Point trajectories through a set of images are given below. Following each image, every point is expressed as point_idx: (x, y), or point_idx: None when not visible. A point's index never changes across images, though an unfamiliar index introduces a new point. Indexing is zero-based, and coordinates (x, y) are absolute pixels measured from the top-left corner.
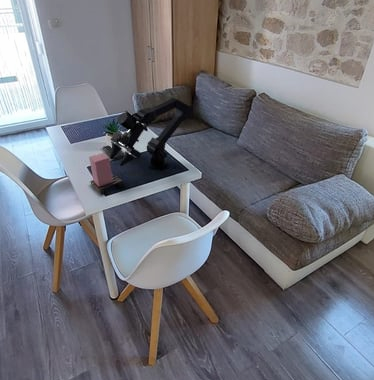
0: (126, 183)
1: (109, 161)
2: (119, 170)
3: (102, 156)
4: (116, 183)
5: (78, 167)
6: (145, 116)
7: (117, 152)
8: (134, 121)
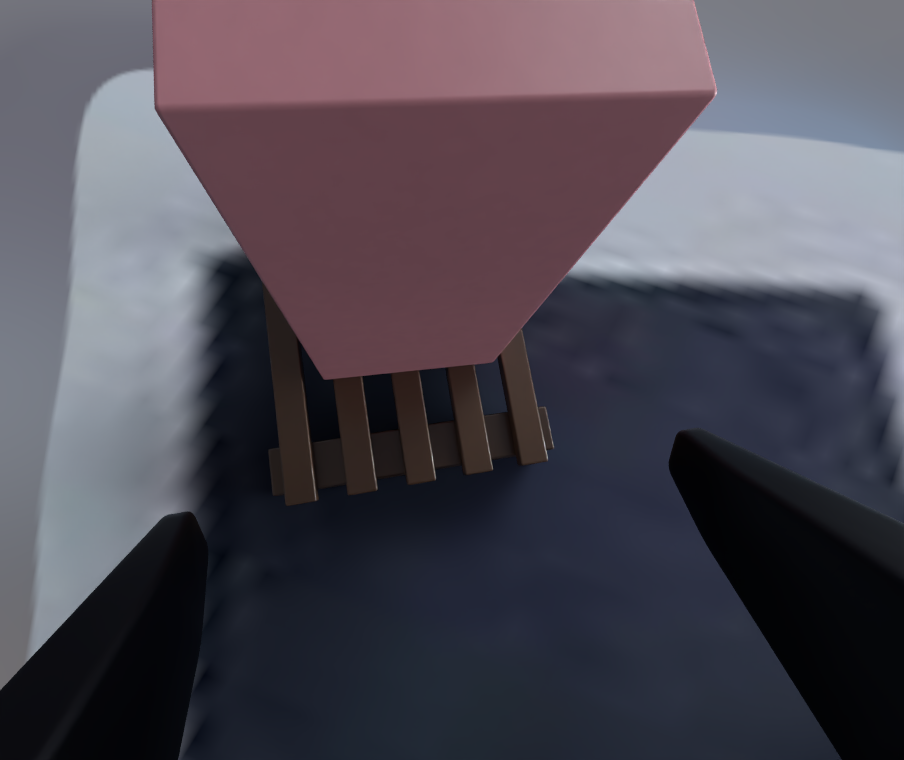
0: (326, 566)
1: (212, 190)
2: (665, 599)
3: None
4: (279, 414)
5: (889, 218)
6: None
7: (821, 698)
8: None
